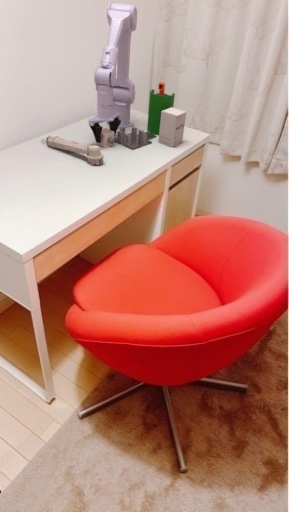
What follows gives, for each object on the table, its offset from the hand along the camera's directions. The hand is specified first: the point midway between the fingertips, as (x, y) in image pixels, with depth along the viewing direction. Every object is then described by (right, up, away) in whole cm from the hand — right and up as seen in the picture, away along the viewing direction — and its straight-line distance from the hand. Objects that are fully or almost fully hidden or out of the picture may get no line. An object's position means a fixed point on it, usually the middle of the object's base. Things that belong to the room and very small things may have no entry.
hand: (105, 139), depth 139 cm
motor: (+22, +8, +15) cm, 27 cm away
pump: (0, -1, +1) cm, 2 cm away
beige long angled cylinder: (-10, -9, -8) cm, 16 cm away
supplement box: (+26, +1, +6) cm, 27 cm away
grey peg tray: (+12, +2, +6) cm, 14 cm away
